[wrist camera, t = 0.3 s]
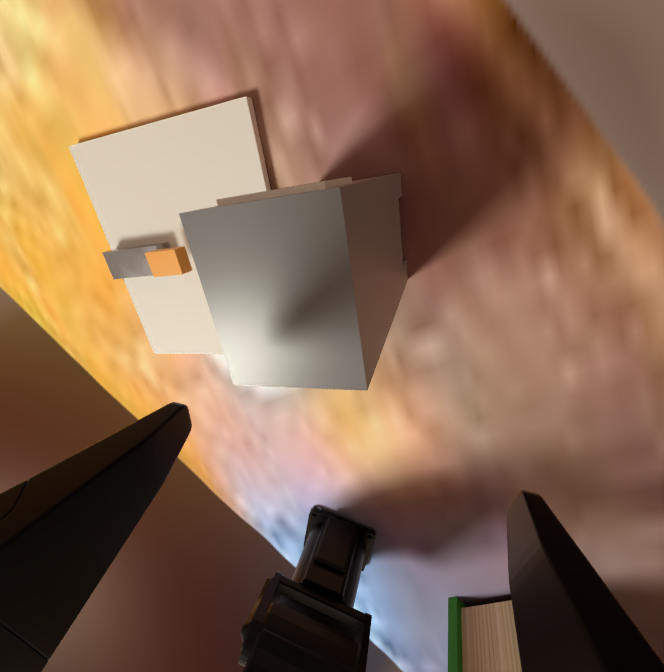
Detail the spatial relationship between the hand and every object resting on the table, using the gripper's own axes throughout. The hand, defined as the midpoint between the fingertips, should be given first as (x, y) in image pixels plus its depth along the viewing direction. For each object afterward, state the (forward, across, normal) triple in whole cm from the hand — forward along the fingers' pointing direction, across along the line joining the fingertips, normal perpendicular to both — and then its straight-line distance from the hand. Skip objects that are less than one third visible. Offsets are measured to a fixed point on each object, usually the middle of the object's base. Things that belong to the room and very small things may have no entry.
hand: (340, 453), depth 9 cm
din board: (+15, +14, +2) cm, 21 cm away
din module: (+15, +2, -1) cm, 15 cm away
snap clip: (+13, +14, +2) cm, 19 cm away
